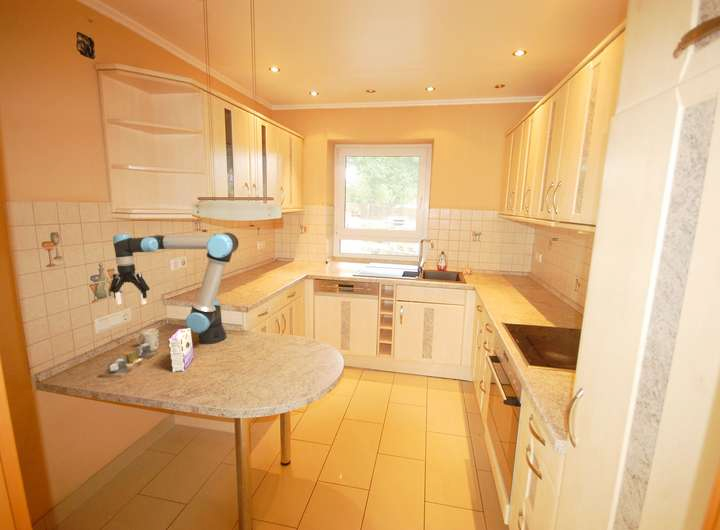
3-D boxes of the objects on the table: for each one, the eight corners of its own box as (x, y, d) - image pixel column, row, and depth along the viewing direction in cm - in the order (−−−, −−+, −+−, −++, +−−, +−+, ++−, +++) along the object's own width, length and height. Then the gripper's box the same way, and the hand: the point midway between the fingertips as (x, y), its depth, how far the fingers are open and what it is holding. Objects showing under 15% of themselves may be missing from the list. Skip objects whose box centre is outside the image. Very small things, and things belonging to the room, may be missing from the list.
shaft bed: (138, 353, 180) (136, 342, 179) (158, 353, 180) (156, 342, 179) (98, 377, 155) (96, 364, 154) (121, 377, 154) (119, 364, 153)
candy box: (182, 359, 171) (178, 328, 168) (194, 358, 172) (191, 327, 169) (171, 372, 157) (167, 339, 154) (185, 371, 158) (181, 337, 155)
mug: (155, 351, 182) (152, 333, 180) (132, 351, 182) (129, 334, 180) (164, 345, 190) (161, 328, 188) (142, 345, 190) (139, 328, 189)
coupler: (130, 364, 164) (128, 354, 163) (120, 364, 164) (118, 354, 163) (139, 359, 170) (137, 349, 169) (129, 359, 170) (128, 349, 169)
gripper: (153, 262, 176) (159, 302, 180) (108, 263, 178) (114, 302, 181) (144, 265, 169) (149, 306, 172) (96, 266, 170) (103, 306, 174)
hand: (131, 304), depth 177 cm, fingers open, 13 cm apart
